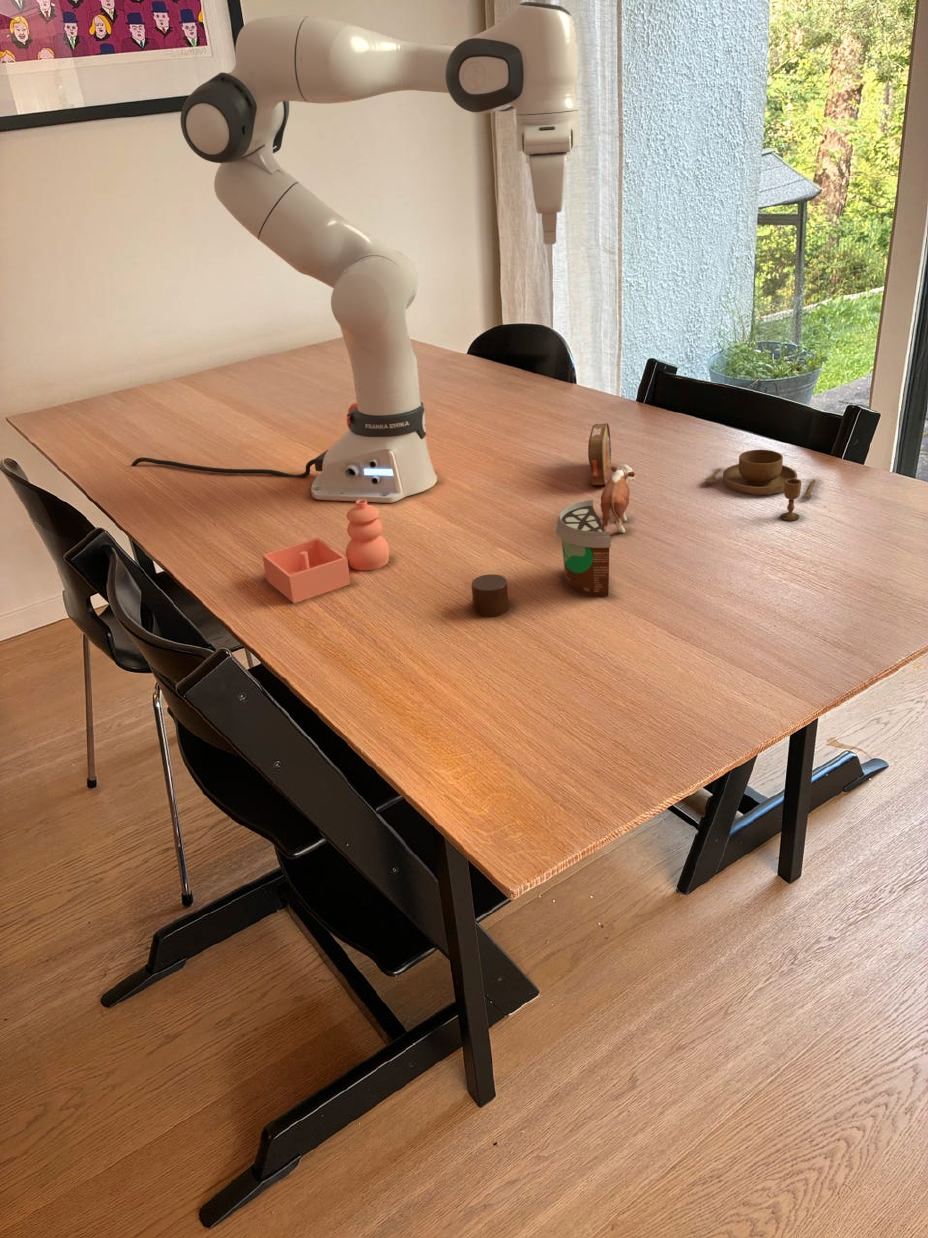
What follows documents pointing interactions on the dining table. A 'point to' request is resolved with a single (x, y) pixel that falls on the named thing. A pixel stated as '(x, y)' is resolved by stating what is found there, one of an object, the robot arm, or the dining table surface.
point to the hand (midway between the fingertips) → (550, 238)
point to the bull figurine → (616, 497)
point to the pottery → (328, 558)
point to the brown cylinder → (490, 595)
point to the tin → (599, 454)
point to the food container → (584, 549)
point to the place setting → (764, 478)
